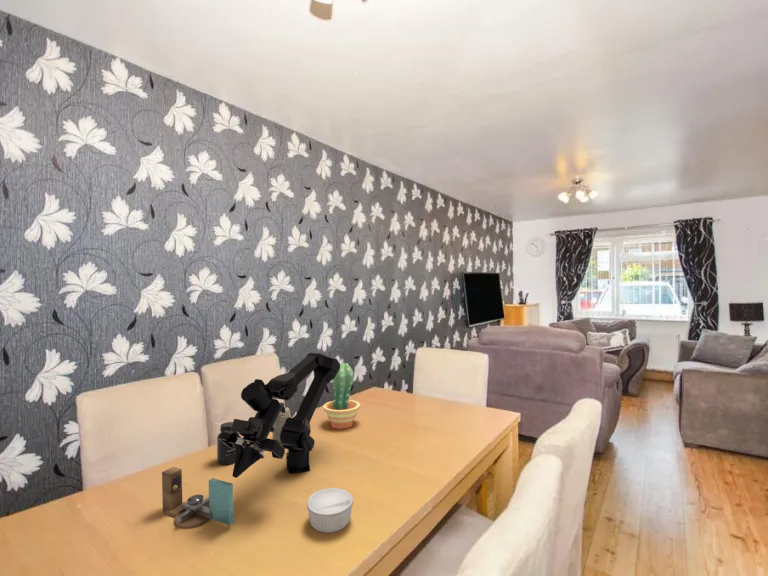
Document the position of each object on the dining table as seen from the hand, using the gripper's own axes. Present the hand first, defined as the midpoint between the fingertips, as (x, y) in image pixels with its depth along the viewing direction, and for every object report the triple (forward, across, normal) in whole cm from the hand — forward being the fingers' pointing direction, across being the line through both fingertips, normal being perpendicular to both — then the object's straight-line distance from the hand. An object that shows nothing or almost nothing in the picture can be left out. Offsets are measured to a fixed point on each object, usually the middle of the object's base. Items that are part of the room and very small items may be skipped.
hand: (234, 477), depth 97 cm
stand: (+10, -11, +3) cm, 15 cm away
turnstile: (+9, -4, +2) cm, 10 cm away
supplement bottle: (-8, -25, +22) cm, 34 cm away
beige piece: (-22, -19, +35) cm, 46 cm away
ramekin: (+2, +24, +12) cm, 27 cm away
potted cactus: (-39, -7, +51) cm, 65 cm away
